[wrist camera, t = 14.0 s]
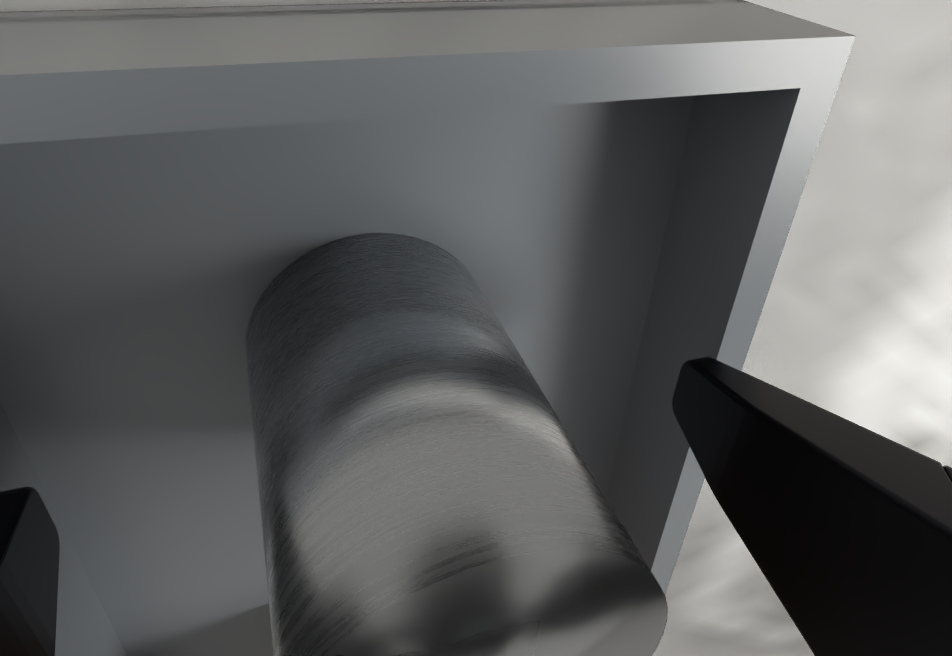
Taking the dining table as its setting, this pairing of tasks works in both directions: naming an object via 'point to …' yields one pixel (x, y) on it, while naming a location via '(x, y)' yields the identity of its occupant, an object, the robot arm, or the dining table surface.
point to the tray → (365, 212)
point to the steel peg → (425, 474)
